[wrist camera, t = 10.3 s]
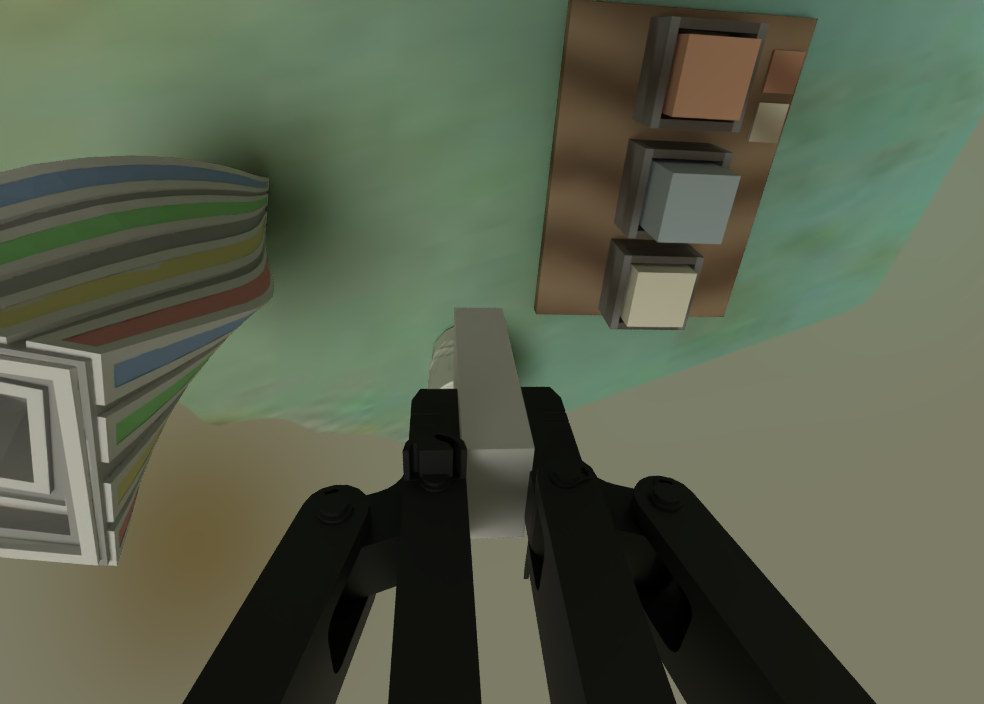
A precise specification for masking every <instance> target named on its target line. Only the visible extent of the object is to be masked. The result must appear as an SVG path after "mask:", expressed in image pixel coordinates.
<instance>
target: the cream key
mask: <svg viewBox="0 0 984 704" xmlns="http://www.w3.org/2000/svg"><path fill="white" fill-rule="evenodd" d="M696 276H697V273H696V272H695V271H694V270H693V269H692V268H691V267H690V266H689V265H687V264H659V263H631V264H630V269H629V274H628V279H627V284H626V288H625V293H624V298H623V303H622V308H621V313H620V317H621V318H622V320H623V321H624V323H625V324H626V326H627V327H683V324H684V320H685V316H686V313H687V309H688V306H689V302H690V298H691V295H692V291H693V287H694V284H695V280H696Z"/></svg>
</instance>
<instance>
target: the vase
mask: <svg viewBox="0 0 984 704" xmlns="http://www.w3.org/2000/svg"><path fill="white" fill-rule="evenodd" d="M268 190H269V178H267V177H263V176H258V175H253V174H250V173H247V172H244V171H241V170H238V169H234V168H231V167H227V166H223V165H218V164H213V163H208V162H203V161H196V160H189V159H181V158H173V157H151V156H110V157H87V158H78V159H71V160H63V161H56V162H48V163H40V164H33V165H29V166H25V167H21V168H17V169H13V170H9V171H4V172H0V557H6V558H17V559H29V560H42V561H52V562H64V563H76V564H87V565H107V566H108V565H114V566H117V564H118V561H119V557H120V554H121V551H122V548H123V544H124V541H125V538H126V535H127V532H128V528H129V524H130V520H131V516H132V512H133V507H134V504H135V500H136V496H137V492H138V489H139V485H140V482H141V479H142V477H143V474H144V472H145V469H146V466H147V464H148V462H149V459H150V457H151V454H152V451H153V449H154V447H155V445H156V442H157V440H158V438H159V436H160V434H161V432H162V430H163V427H164V425H165V423H166V421H167V419H168V417H169V416H170V414H171V412H172V410H173V408H174V407H175V405H176V404H177V402H178V400H179V399H180V397H181V396H182V394H183V392H184V391H185V389H186V388H187V386H188V384H189V383H190V382H191V381H192V379H193V378H194V377H195V376H196V374H197V373H198V372H199V371H200V369H201V368H202V367H203V366H204V364H205V363H206V362H207V361H208V359H209V358H210V357H211V355H212V354H213V353H214V352H215V351H216V350H217V348H218V347H219V346H220V345H221V344H222V343H223V342H224V341H225V340H226V339H227V338H228V336H229V335H230V334H231V333H233V332H234V331H235V330H236V329H237V328H238V327H239V326H240V325H241V324H242V323H243V322H244V321H245V320H246V319H247V318H249V317H250V316H251V315H252V314H253V313H255V312H256V311H257V310H258V309H259V308H261V307H262V306H263V305H264V304H266V303H267V302H268V301H269V300H270V299H271V298H272V296H273V292H274V282H273V277H272V273H271V269H270V265H269V261H268V256H267V251H266V245H265V239H266V226H265V225H266V223H267V211H266V206H268V193H267V191H268Z"/></svg>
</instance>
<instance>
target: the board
mask: <svg viewBox="0 0 984 704" xmlns="http://www.w3.org/2000/svg"><path fill="white" fill-rule="evenodd" d="M817 20H818V19H815V18H803V17H790V16H777V15H765V14H752V13H740V12H727V11H714V10H702V9H689V8H676V7H664V6H651V5H638V4H626V3H613V2H601V1H588V0H569V1H568V10H567V19H566V28H565V37H564V46H563V55H562V64H561V73H560V82H559V90H558V99H557V108H556V117H555V126H554V135H553V144H552V153H551V162H550V171H549V179H548V188H547V197H546V206H545V215H544V224H543V233H542V242H541V251H540V260H539V268H538V277H537V286H536V295H535V304H534V310H535V312H536V314H563V315H602V316H603V317H604V319H605V321H606V322H607V324H608V326H609V328H610V329H647V330H685V326H686V322H687V319H688V316H696V317H724V314H725V311H726V307H727V304H728V301H729V298H730V295H731V292H732V288H733V285H734V282H735V279H736V276H737V273H738V269H739V266H740V263H741V260H742V257H743V254H744V250H745V247H746V244H747V241H748V238H749V235H750V232H751V228H752V225H753V222H754V219H755V216H756V213H757V209H758V206H759V203H760V200H761V197H762V194H763V190H764V187H765V184H766V181H767V178H768V175H769V171H770V168H771V165H772V162H773V159H774V156H775V153H776V149H777V146H778V143H779V140H780V137H781V134H782V130H783V127H784V124H785V121H786V118H787V115H788V111H789V108H790V105H791V102H792V99H793V96H794V92H795V89H796V86H797V83H798V80H799V77H800V74H801V70H802V67H803V64H804V61H805V58H806V55H807V51H808V48H809V45H810V42H811V39H812V36H813V32H814V29H815V26H816V23H817ZM678 34H699V35H712V36H726V37H739V38H753V39H762V40H761V44H760V48H759V51H758V55H757V59H756V62H755V66H754V69H753V73H752V77H751V80H750V84H749V88H748V91H747V95H746V99H745V102H744V106H743V109H742V113H741V117H740V120H739V121H738V120H721V119H703V118H685V117H671V116H669V115H666V114H663V113H662V108H663V103H664V98H665V93H666V89H667V84H668V79H669V74H670V69H671V64H672V59H673V54H674V50H675V45H676V40H677V35H678ZM652 158H661V159H682V160H703V161H710V162H713V163H715V164H717V165H719V166H721V167H723V168H725V169H727V170H729V171H731V172H733V173H735V174H738V175H740V176H741V178H740V181H739V185H738V188H737V192H736V195H735V198H734V202H733V205H732V209H731V212H730V216H729V219H728V222H727V226H726V229H725V233H724V236H723V240H722V243H721V244H698V243H665V242H657V241H656V240H655V239H653V238H652V237H651V236H650V235H649V234H648V233H647V232H646V231H645V230H644V229H643V228H642V227H641V226H640V225H639V220H640V215H641V210H642V206H643V201H644V196H645V191H646V186H647V181H648V176H649V171H650V167H651V162H652ZM631 263H659V264H687V265H689V266H690V267H691V268H692V269H693V270H694V271H695V272H696V273H697V276H696V280H695V284H694V287H693V291H692V295H691V298H690V302H689V306H688V309H687V313H686V316H685V320H684V324H683V327H627V326H626V324H625V323H624V321H623V320H622V318H621V317H620V313H621V308H622V303H623V298H624V293H625V288H626V284H627V279H628V274H629V269H630V264H631Z"/></svg>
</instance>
